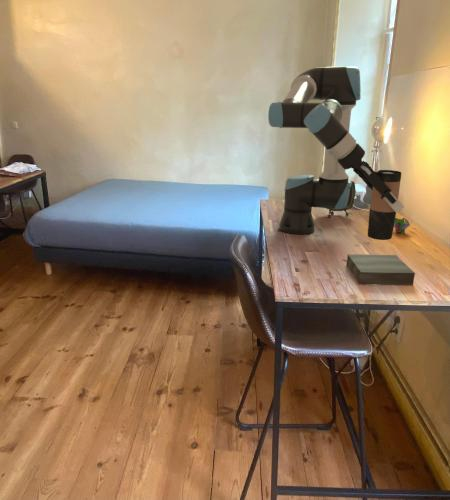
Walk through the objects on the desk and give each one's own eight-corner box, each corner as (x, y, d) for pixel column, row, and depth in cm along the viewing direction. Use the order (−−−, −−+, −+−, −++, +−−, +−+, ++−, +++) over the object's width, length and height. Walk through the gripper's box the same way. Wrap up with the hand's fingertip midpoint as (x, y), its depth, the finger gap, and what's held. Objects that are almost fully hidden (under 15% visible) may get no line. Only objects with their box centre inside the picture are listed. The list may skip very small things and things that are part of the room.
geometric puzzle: (400, 231, 174) (408, 215, 175) (385, 228, 179) (393, 211, 180) (406, 239, 179) (414, 222, 180) (391, 235, 184) (399, 219, 185)
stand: (346, 265, 144) (347, 254, 142) (394, 266, 143) (395, 254, 142) (359, 284, 128) (361, 272, 127) (412, 285, 128) (415, 272, 127)
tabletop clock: (328, 219, 201) (332, 166, 193) (316, 215, 209) (320, 163, 201) (352, 216, 206) (358, 164, 198) (340, 212, 214) (345, 162, 206)
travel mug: (396, 240, 128) (406, 173, 121) (370, 240, 128) (379, 173, 121) (387, 233, 135) (396, 169, 129) (363, 232, 135) (370, 169, 129)
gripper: (329, 156, 134) (374, 207, 139) (345, 165, 115) (397, 223, 120) (348, 139, 132) (393, 191, 137) (367, 145, 113) (419, 205, 118)
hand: (394, 206), depth 128 cm, fingers closed on travel mug, 7 cm apart
